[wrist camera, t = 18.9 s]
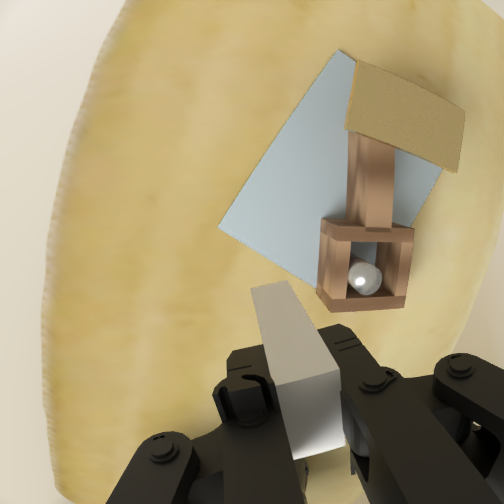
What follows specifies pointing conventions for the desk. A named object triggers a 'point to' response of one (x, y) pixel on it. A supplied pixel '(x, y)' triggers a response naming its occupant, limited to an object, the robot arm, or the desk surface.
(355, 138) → the link
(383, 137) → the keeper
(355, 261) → the cylinder
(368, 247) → the board
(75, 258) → the desk surface
